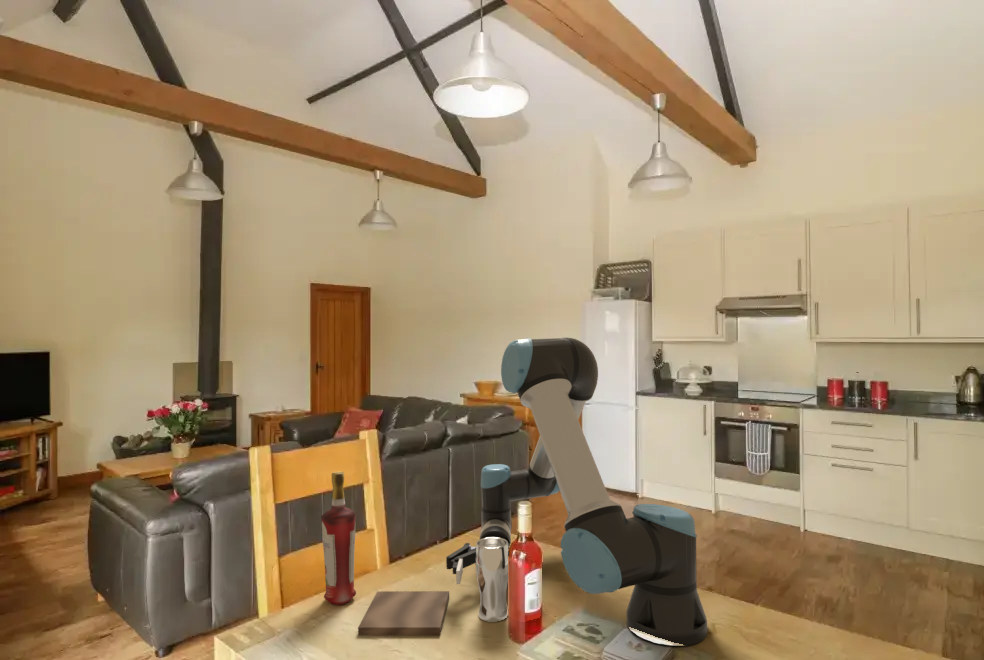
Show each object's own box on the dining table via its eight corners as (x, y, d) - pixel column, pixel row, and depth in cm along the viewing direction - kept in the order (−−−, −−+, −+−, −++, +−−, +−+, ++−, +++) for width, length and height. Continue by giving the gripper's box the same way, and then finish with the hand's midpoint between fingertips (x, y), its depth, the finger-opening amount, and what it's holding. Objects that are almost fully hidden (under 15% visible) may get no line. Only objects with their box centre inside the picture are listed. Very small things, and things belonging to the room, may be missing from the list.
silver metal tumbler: (507, 624, 118) (505, 549, 118) (473, 622, 119) (471, 547, 119) (512, 608, 125) (511, 537, 125) (480, 606, 126) (479, 535, 126)
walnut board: (449, 598, 130) (449, 591, 130) (440, 635, 114) (440, 627, 114) (377, 598, 131) (377, 591, 131) (358, 635, 115) (358, 627, 115)
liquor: (319, 597, 132) (317, 472, 132) (352, 590, 135) (350, 467, 135) (327, 611, 125) (324, 478, 125) (361, 603, 129) (358, 474, 129)
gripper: (547, 556, 141) (553, 595, 120) (443, 556, 142) (430, 596, 121) (546, 524, 141) (552, 558, 120) (442, 525, 142) (430, 559, 121)
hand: (491, 577), depth 120 cm, fingers open, 13 cm apart
